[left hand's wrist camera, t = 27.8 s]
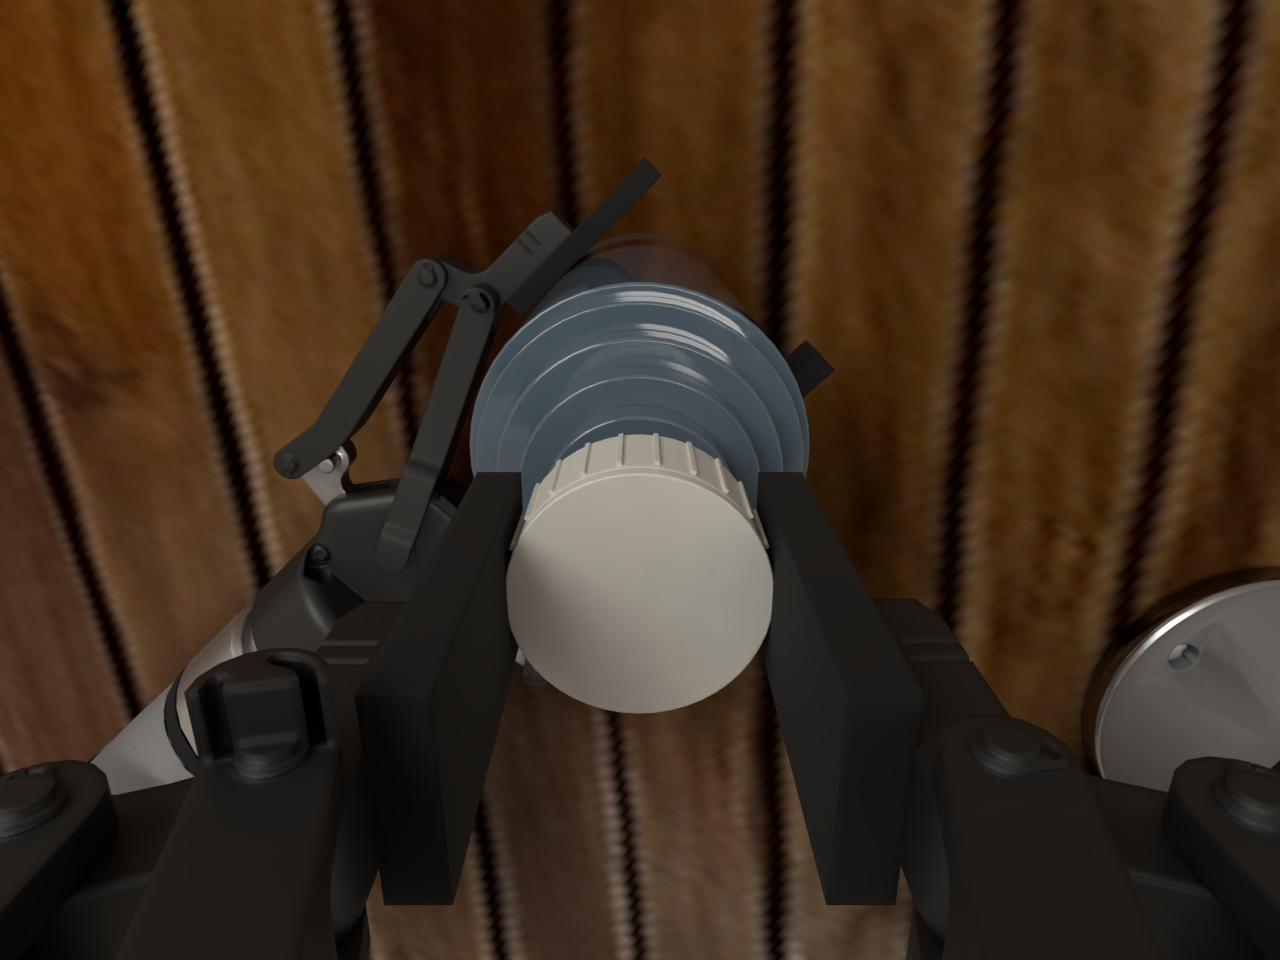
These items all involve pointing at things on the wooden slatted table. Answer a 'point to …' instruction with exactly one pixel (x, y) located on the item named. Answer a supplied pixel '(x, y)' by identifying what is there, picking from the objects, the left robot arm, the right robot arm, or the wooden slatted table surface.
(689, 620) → the cap
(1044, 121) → the wooden slatted table surface
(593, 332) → the bottle
